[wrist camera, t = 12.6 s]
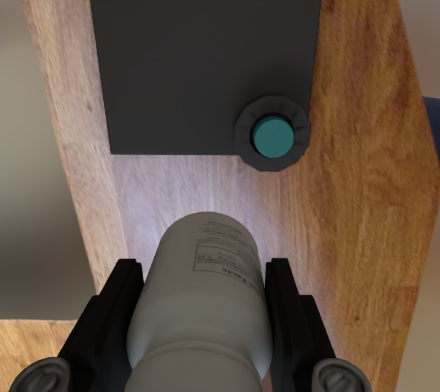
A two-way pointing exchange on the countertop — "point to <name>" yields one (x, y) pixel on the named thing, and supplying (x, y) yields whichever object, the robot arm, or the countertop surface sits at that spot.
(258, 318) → the pill bottle
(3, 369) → the countertop surface
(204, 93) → the scale
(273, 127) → the button
